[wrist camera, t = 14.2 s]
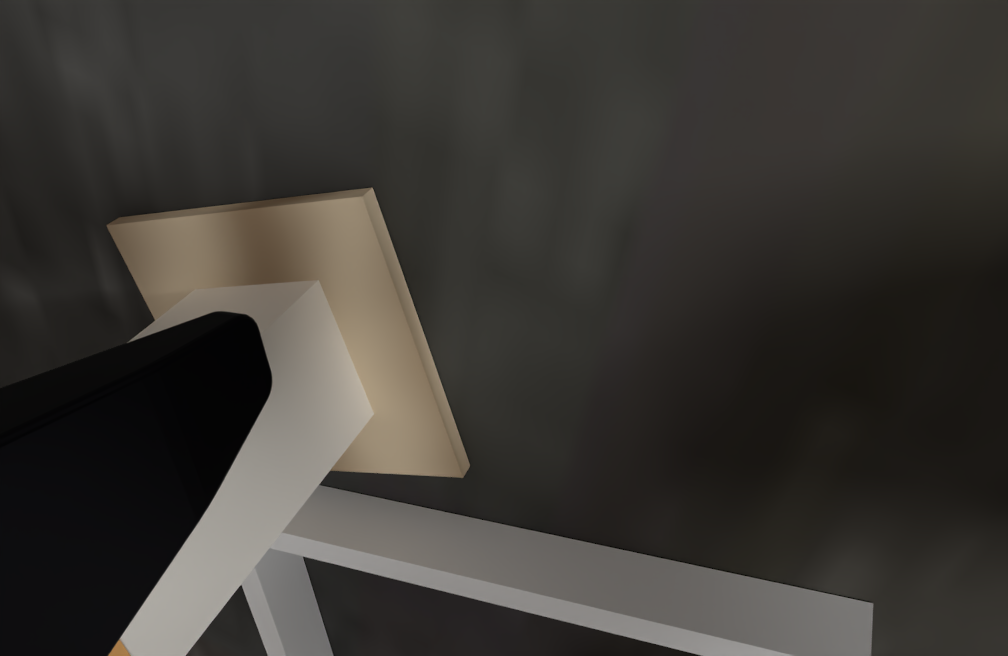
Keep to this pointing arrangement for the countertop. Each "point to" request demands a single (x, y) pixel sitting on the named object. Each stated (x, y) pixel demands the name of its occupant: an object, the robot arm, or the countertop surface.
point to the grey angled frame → (540, 583)
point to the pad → (348, 289)
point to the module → (257, 457)
